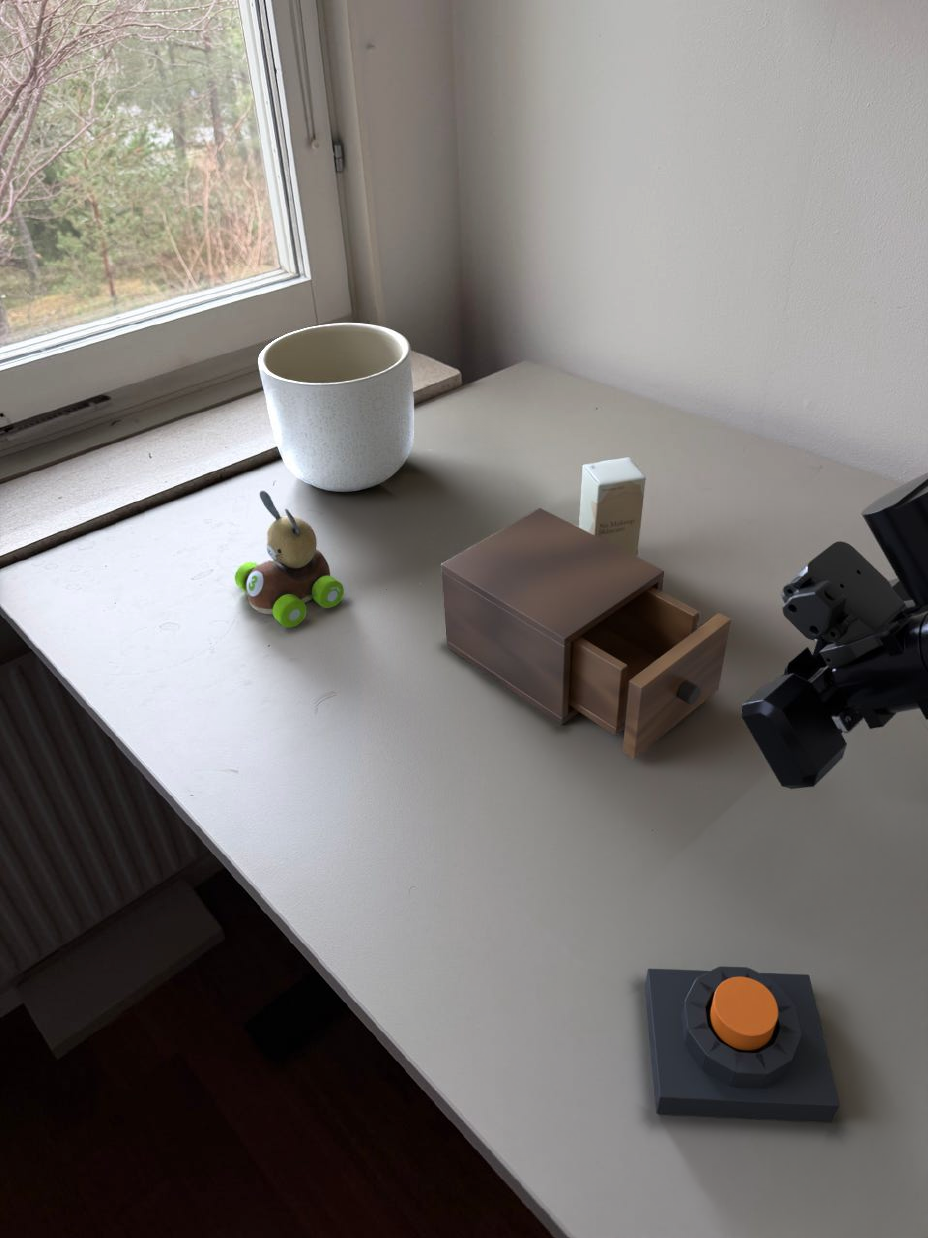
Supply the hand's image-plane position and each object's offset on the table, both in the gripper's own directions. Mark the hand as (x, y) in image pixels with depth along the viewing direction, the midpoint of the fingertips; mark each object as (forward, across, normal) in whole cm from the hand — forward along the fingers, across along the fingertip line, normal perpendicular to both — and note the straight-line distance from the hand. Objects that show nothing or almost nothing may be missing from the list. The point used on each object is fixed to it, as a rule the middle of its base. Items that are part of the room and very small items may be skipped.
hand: (760, 696), depth 69 cm
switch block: (-3, +19, +15) cm, 24 cm away
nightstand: (+21, 0, -9) cm, 23 cm away
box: (+25, -14, -12) cm, 31 cm away
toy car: (+38, +12, -26) cm, 48 cm away
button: (-5, +19, +12) cm, 23 cm away
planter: (+50, -8, -37) cm, 62 cm away
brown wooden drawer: (+14, 0, -4) cm, 15 cm away
